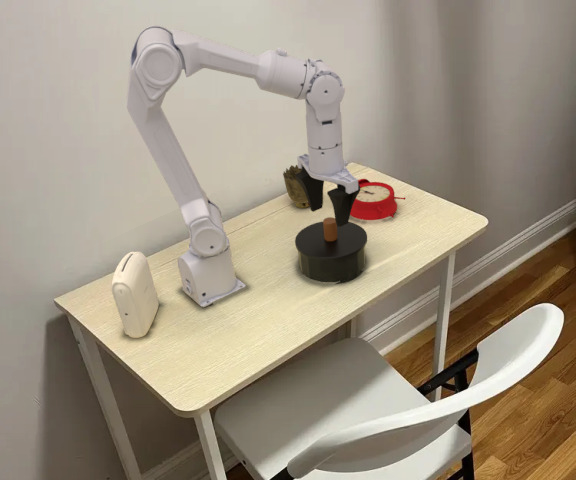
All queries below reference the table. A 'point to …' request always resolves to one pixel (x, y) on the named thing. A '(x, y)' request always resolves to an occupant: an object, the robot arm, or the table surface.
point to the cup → (295, 187)
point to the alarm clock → (374, 201)
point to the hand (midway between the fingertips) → (329, 216)
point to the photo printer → (135, 294)
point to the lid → (330, 240)
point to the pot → (333, 268)
